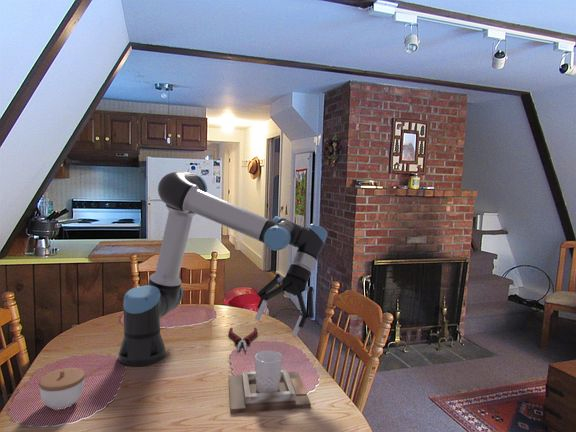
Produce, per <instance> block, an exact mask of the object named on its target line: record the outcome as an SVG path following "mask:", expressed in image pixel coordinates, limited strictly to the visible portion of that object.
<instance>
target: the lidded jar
mask: <svg viewBox="0 0 576 432" xmlns="http://www.w3.org/2000/svg"><path fill="white" fill-rule="evenodd" d="M38 385H39V386H38V387H39V395H40V398H41V400H42V403H43V404H44V405H45V406H46V407H48V408H50V409H51V408H54V409H58V408H64V407H67V406H70V405H72V404H73V403H75V404H76V402H77V401H78V400H79V399H80V397H81V396H82V394H83V391H84V388H85V387H84V386H85V371H84V370H82V369H81V368H79V367H64V368H59V369H55V370H52V371H50V372H48V373H46V374H44V375H43V376H42V377H41V378H40V379H39V382H38Z"/></svg>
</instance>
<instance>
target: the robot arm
mask: <svg viewBox="0 0 576 432" xmlns="http://www.w3.org/2000/svg"><path fill="white" fill-rule="evenodd" d="M157 192H158V196H159V198H160V199H161V201H162V203H164V204H165V207H166V209H167V210H168V214H167V218H166V223H165V228H164V231H163V236H162V242H161V245H160V250H159V253H158V258H157V263H156V268H155V272H154V273H152V274H150V276H149V280H148V284H147V285H139V286H135V287H133V288H130V289H129V290H127V291H126V293H125V294H124V296H123V304H122V307H123V338H122V342H121V344H120V348H119V351H118V362H120V363H121V364H122V365H125V366H130V367H143V366H148V365H152V364H156V363H158V362H159V361H161V360H163V359H164V358H165V356H166V346H165V342H164V339H163V337H162V334H161V318H163V317H165V316H166V315H167V314H169V313H170V312H172V311H173V310H174V309H176V308H177V306H179V304H180V303H181V301H182V300H183V295H184V293H183V288H182V283H183V282H182V279H181V278H180V273H181V268H182V264H183V260H184V255H185V251H186V247H187V244H188V243H187V242H188V239H189V236H190V235H189V233H190V229H191V225H192V220H193V217H194V216H196V215H198V216H201V217H203V218H205V219H208V220H209V221H212V222H214V223H217V224H219V225H221V226H224V227H226V228H229V229H230V230H233V231H235V232H236V233H237V232H238V233H240V234H241V235H244V236H246V237H249V238H252V239H254V240H256V241H259V242H261V243H262V244H264V245H265V246H266V248H268V249H269V250H271V251H273V252H274V251H276V252H277V251H281V250H283V249H285V248H286V247H288V246H293V247H294V248H297V249H296V253H295V254H294V257H293V259H292V261H291V264H290V265H289V267H288V270H287V272H286V275H284V276H282V275H281V274H279V273H276V274H275V276H274V278H273V279H272V280H270V281H269V282H268V283H267V284H266V285H265V286H263V287H262V289H260V290H259V291H258V292H257V296H258V297H259V298H260V300H259V302H258V305H257V307H256V308H257V309H258V311H257V313H256V315H255V317H254V319H255V320H257V321H258V322H260V321H261V318H262V315H263V314H264V311H265V309H266V307H267V305H268V302H267V301H268V300H270V299H272V298H274V297H277V295H279V294H281V293H285V292H286V293H287V294H291V295H293V296H294V297H295V296H296V297H297V300H298V303H299V307H300V310H301V314H302V315H299V317H298V319H297V322H296V324H295V326H294V329H293V331H292V333H291V336H292V337H294V338H296V337H297V336H298V333H299V331H300V328H302V329H303V328H304V326H305V324H306V322H307V320H308V319H312V320H313V319H314V318H315V311H314V293H315V289H314V287H313V286H307V284H308V282H309V280H310V278H311V275H312V273H311V272H313V270H314V268H315V266H316V264H317V261H318V258H319V257H320V255H321V252H322V250H323V248H324V245H325V243H326V240H327V238H328V231H327V230H326V228H324V227H322V226H321V225H319V224H315V223H311V224H309V225H308V226H307V227H305V226H302V225H300V224H298V223H296V222H293V221H291V220H288V219H286V218H285V217H281V216H278V215H276V216H274V217H273V218H272V220H270V219H268V218H267V217H264V216H262V215H260V214H257V213H255V212H253V211H250V210H247V209H245V208H244V207H243V208H242V207H241V206H239V205H236V204H233V203H231V202H228V201H226V200H224V199H222V198H219V197H217V196H214V195H213V194H210V193H208V185H207V183H206V181H205V179H204V178H203V177H202V176H201V175H199V174H197V173H194V172H190V171H183V172H178V171H177V172H176V171H174V172H169V173H167V174H165V175H164V176H163V177H161V179H160V180H159V183H158V187H157ZM281 282H282V284H280V285H278V284H279V283H281ZM277 285H278V287H275V286H277ZM274 287H275V288H274ZM273 288H274V289H273ZM303 292H306V293H307V307H308V308H307V309H306V304H305V301H304V297H303Z"/></svg>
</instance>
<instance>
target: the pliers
mask: <svg viewBox="0 0 576 432" xmlns="http://www.w3.org/2000/svg"><path fill="white" fill-rule="evenodd" d="M258 335H259V334H258V329H257V328H256V327H253V331H252V332H251V333H250V334H247V335H246V336H245V337H243V338H242V337H240V336H239V335H238V334H236V333H235V332H234V331H233V327H230V328H229V330H228V337H229V338H230V339H231V340H233V341H234V345H235V346H237V352H239V351H240V350H241V348H242V347H243V350H244V352H247V345H251V342H252V341H253V340H254V339H255V338H256V337H257V336H258Z"/></svg>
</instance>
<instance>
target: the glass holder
mask: <svg viewBox="0 0 576 432" xmlns="http://www.w3.org/2000/svg"><path fill="white" fill-rule="evenodd" d="M228 389H229V406H230V407H229V408H230V409H229V410H230V414H239V413H240V414H241V413H255V412H269V411H281V410H282V411H283V410H297V409H309V408H310V409H311V408H312V406H311V405H312V404H311V401H310V398H309V395H308V393H307V391H306V388H305V385H304V383H303V380H302V378H301V376H300V374H299V371H291V372H290V371H288V369H281V376H280V384H279V390H278V391H277V392H269V393H259V392H258V391H257V389H256V373H255V371H253V370H252V371H251V370H250V371H242V372H241V374H235V375H228Z"/></svg>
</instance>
